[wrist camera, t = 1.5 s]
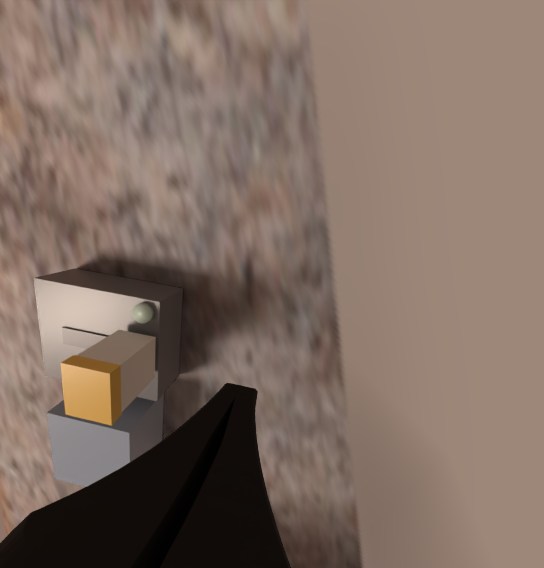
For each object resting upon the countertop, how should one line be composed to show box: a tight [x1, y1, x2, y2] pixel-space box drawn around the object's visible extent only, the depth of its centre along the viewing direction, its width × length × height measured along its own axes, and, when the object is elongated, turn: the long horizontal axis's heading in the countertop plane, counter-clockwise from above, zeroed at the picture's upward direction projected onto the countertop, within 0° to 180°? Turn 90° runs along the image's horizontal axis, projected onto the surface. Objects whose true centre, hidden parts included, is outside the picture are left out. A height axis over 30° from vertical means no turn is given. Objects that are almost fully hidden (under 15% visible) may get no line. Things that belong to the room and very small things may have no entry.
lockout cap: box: [47, 394, 164, 487], centre depth 17 cm, size 5×5×4 cm
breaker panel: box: [34, 269, 183, 401], centre depth 15 cm, size 6×7×3 cm
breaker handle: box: [61, 330, 156, 426], centre depth 12 cm, size 2×2×3 cm
